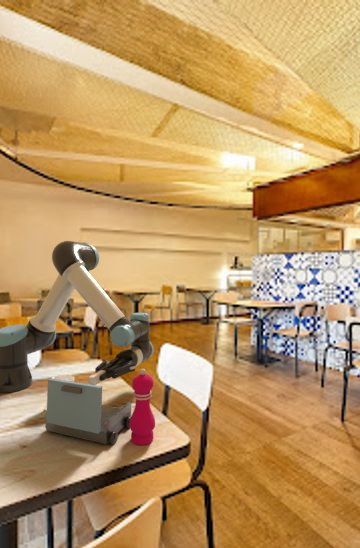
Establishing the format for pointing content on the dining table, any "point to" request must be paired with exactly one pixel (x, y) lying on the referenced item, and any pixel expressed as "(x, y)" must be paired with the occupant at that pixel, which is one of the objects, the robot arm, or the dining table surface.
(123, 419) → the cart bed
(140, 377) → the pepper mill
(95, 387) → the panel
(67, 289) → the robot arm
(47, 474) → the dining table surface
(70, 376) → the white cup
